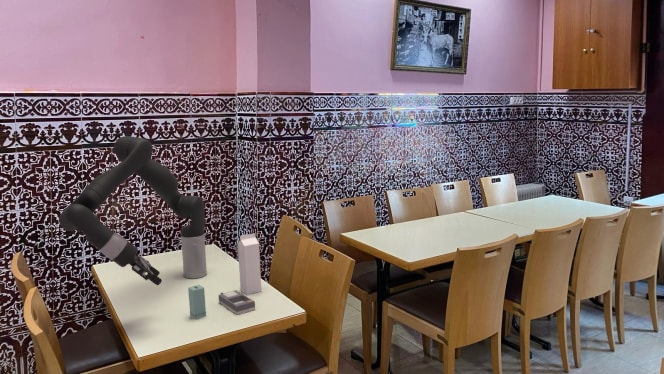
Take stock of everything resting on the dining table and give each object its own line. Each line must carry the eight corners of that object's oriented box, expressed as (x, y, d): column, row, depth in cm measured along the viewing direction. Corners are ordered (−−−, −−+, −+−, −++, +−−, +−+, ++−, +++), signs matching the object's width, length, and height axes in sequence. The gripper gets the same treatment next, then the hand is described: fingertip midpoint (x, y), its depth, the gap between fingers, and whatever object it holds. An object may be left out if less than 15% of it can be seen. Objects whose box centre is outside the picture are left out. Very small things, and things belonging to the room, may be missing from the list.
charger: (190, 315, 189) (187, 287, 187) (201, 312, 191) (199, 284, 189) (194, 319, 185) (192, 290, 184) (206, 315, 188) (204, 287, 186)
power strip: (213, 298, 203) (212, 290, 202) (230, 294, 207) (229, 285, 207) (236, 314, 188) (236, 305, 187) (255, 309, 192) (254, 300, 192)
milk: (261, 291, 209) (259, 235, 205) (246, 295, 206) (243, 237, 202) (254, 286, 214) (252, 231, 210) (239, 290, 211) (237, 234, 207)
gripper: (127, 246, 169) (169, 276, 175) (126, 235, 182) (164, 263, 188) (110, 265, 168) (152, 295, 174) (110, 252, 181) (149, 281, 187)
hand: (159, 278), depth 181 cm, fingers open, 8 cm apart
